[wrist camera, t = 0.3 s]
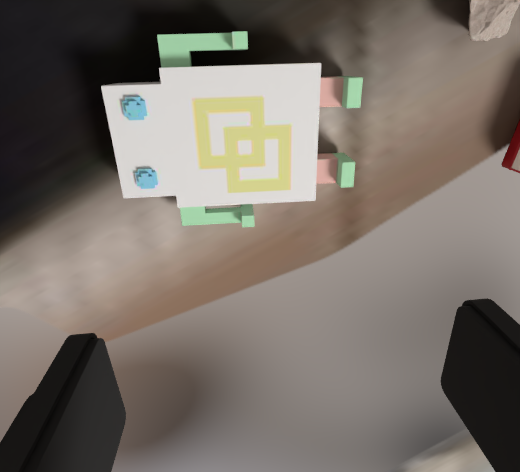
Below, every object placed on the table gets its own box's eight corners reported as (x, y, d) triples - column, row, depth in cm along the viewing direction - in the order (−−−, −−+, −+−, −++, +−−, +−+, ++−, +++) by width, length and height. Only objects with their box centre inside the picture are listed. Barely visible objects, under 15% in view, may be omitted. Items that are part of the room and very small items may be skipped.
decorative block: (129, 236, 41) (87, 34, 32) (141, 214, 47) (109, 38, 38) (351, 223, 42) (369, 27, 34) (337, 204, 48) (349, 32, 39)
